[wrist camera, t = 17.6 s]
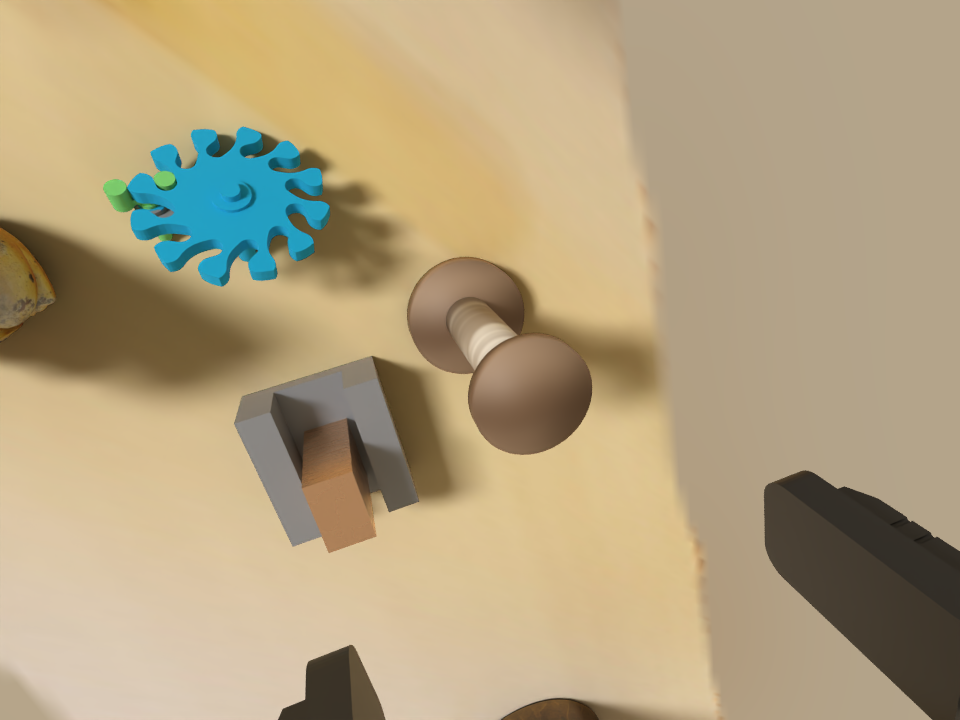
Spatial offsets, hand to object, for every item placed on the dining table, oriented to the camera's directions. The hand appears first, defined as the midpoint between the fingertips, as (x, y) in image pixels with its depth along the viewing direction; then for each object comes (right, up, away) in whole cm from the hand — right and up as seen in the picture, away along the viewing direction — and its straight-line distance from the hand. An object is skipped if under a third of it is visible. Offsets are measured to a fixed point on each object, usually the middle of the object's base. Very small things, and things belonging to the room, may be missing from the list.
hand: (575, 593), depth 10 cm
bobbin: (-3, +8, +30) cm, 31 cm away
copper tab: (-12, -2, +30) cm, 32 cm away
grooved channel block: (-12, -1, +30) cm, 33 cm away
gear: (-17, +14, +23) cm, 32 cm away
